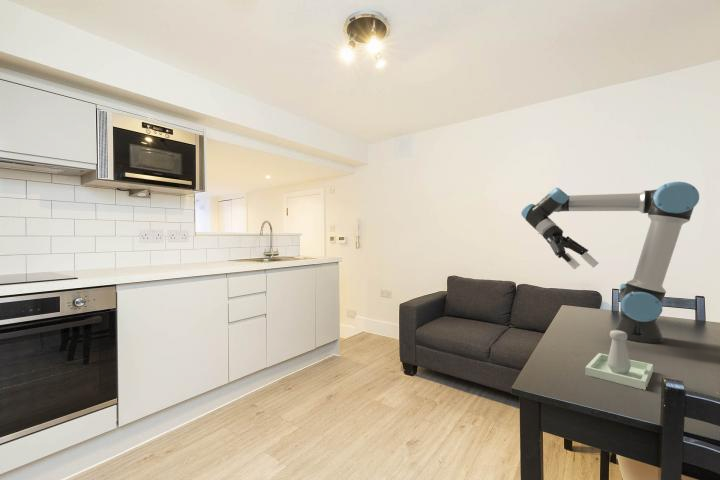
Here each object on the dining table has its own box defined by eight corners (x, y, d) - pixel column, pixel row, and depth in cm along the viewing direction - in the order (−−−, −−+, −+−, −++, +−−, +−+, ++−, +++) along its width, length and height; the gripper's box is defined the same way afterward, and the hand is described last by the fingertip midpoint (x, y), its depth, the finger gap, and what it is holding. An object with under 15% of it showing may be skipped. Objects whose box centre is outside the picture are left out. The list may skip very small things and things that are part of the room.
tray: (598, 359, 110) (598, 352, 110) (653, 371, 99) (652, 364, 99) (585, 374, 98) (585, 367, 98) (645, 390, 87) (645, 381, 87)
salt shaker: (602, 368, 101) (601, 328, 101) (618, 367, 102) (618, 328, 102) (619, 376, 96) (618, 334, 96) (636, 375, 96) (635, 333, 96)
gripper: (560, 236, 148) (596, 270, 135) (526, 236, 137) (561, 273, 124) (571, 225, 144) (610, 258, 130) (537, 224, 132) (575, 261, 119)
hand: (586, 266), depth 127 cm, fingers open, 13 cm apart
